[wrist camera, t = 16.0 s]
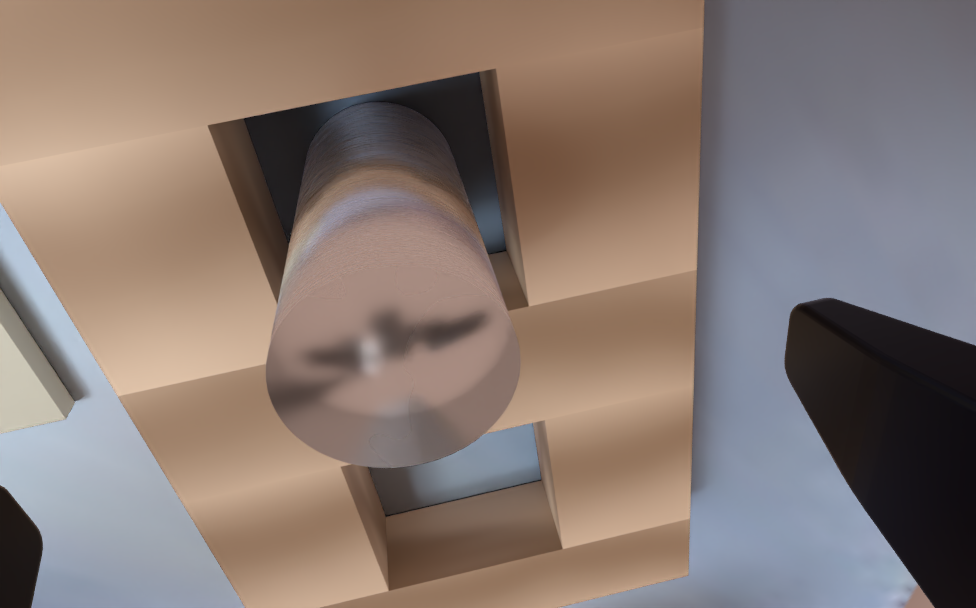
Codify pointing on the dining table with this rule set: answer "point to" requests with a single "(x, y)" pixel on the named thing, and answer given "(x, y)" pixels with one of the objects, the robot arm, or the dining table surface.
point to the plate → (26, 378)
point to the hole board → (263, 252)
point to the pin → (388, 300)
